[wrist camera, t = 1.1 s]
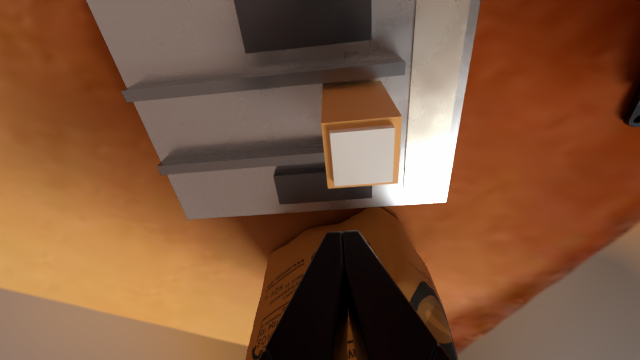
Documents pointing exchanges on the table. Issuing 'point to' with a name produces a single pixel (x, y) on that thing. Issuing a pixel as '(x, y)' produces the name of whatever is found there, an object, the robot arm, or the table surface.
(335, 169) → the block
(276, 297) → the coffee package
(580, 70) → the table surface
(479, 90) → the table surface
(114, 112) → the table surface
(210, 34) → the panel
